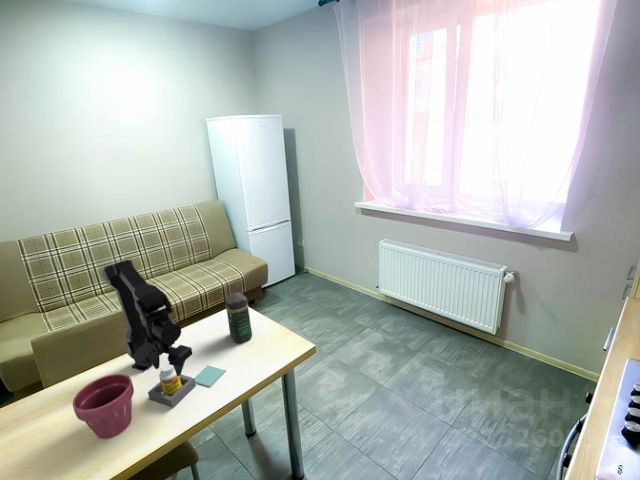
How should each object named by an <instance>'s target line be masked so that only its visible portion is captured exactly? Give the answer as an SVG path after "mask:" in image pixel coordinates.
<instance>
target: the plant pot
mask: <svg viewBox="0 0 640 480" xmlns="http://www.w3.org/2000/svg"><path fill="white" fill-rule="evenodd" d="M132 381H133V380H132V378H131V377H130V376H129V375H127V374H125V373H112V374H108V375H105V376H102V377H99V378H97V379H95V380H92V381H91V382H90V383H88V384H87V385H85V386H84V387H83V388H81V389H80V390H79V391H78V392H77V394H75V396H74V398H73V401H72V408H73V411H74V414H75V415H76V418H77V419H78V420H80V421H82V422H84V423H85V424H86V425H87V426H88V427H89V429H90V430H91V431H92V432H93V433H94V434H95V436H96V437H97V438H99V439H103V440H107V439H111V438H114V437H116V436H118V435H120V434H121V433H123V432H124V431H125V430H126V429H127V428H128V427H129V426H130V424H131V423H132V416H133V415H132V411H133V409H132V404H133V401H132V399H133V396H134V393H135V389H134V384H133V382H132Z"/></svg>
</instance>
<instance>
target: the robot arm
mask: <svg viewBox="0 0 640 480" xmlns="http://www.w3.org/2000/svg"><path fill="white" fill-rule="evenodd" d="M101 276H102V279H103V280H104V281H105V282H106V284H107V285H108V286H110V287H111V288H112V289H114V290H115V292H116V296H117V300H118V301H119V302H118V303H119V304H120V307H121V310H122V315H123V316H124V320H125V322H126V323H125V324H126V326H127V328H128V329H127V332H126V335H125V340H126V344H125V347H124V349H125V352H126V354H127V355H128V356H129V357H130V359H133V361H134V364H132V365H131V368H132V369H135V370H138V371H142V372H146V370H149V369H150V368H151V367H152V366H153V368H154V369H155V370H158V369H160V361H161V360H160V358H161V357H160V356H161V355H163V354H167V355H168V356H167V362H168V363H169V364H170V365H173V366H174V369H175V372H176V374H177V376H180V375H181V374H182V371H183V369H184V365H185V362H186V360H188V358H190V357H191V356H192V355H193V349H192V347H191V346H186V345H183V344H179V346H177V347H174V346H173V345H174V344H175V343H176V341H178V340H179V338H180V336H181V335H182V328H181V326H180V325H179V324H177V323H176V322H174V321H173V320H172V319H171V318H170V316H169V315H171V314H173V313H174V310H173V309H172V308H173V305H172V303H171V301H170V300H169V298H168V296H167V294H166V293H165V292H164V291H162V290H160V289H159V288H158V286H157V285H153V284H149V283H148V282H147V281H146V280H145V279H144V277H143V276H142V275H141V274H140V273H139V272H138V270H137V269H136V268H135V266H134V264H133V261H132V260H131V259H125V260H124V259H123V260H121V261H118V262H114V263H112V264H109V265H105V266H104V267H103V269H102V270H101ZM164 307H165V308H164ZM161 308H162V309H161ZM143 322H144V323H143Z"/></svg>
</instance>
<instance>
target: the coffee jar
mask: <svg viewBox="0 0 640 480" xmlns="http://www.w3.org/2000/svg"><path fill="white" fill-rule="evenodd" d="M248 301H249V300H248V298H247V296H246V295H245V294H243V293H242V292H238V291H234V292H231V293H228V294H227V295H226V296H225V298H224V304H225V308H226V314H227V315H226V316H227V322H228V329H229V335H230V338H231V339H232V340H233V341H234V342H235V343H236V344H237V343H245V342H247V341H249V340H250V339H252V337H253V331H252V325H251V319H250V312H249V302H248Z"/></svg>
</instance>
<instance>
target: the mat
mask: <svg viewBox="0 0 640 480" xmlns="http://www.w3.org/2000/svg"><path fill="white" fill-rule="evenodd" d="M226 372H227V370H225V369H223V368H218V367H215V366H212V365H208V364H207V365H206V366H205V367H204V368H203V369H202V370H200V372H199V373H198V374H196V375H195V377H193V378H194V379H195V383H196V384H199V385H202V386H205V387H206V388H207V387H208V388H211V387H213V385H214V384H215V383H216V382H217V381H218V380H219V379H220V378H221V377H222V376H223V375H224V374H225V373H226Z"/></svg>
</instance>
